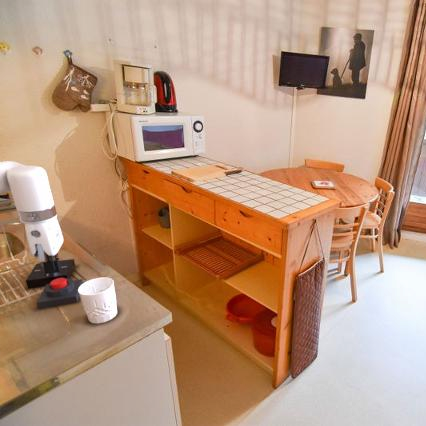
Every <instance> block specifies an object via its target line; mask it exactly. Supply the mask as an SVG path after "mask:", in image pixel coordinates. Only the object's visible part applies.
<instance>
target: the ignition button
mask: <svg viewBox="0 0 426 426" xmlns="http://www.w3.org/2000/svg"><path fill="white" fill-rule="evenodd" d="M50 284H51V287H52V289H54V290H56V289H61V288H63V287H65V286H67V281H66V279H65V278H57V279H55V280H53V281H51V283H50Z"/></svg>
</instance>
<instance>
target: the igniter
mask: <svg viewBox="0 0 426 426" xmlns="http://www.w3.org/2000/svg"><path fill="white" fill-rule="evenodd" d="M65 279H66V278H65ZM66 281H67V286H65V287H63V288H61V289H56V290H54V289H52V287H51V284H50V283H49V284H46V286H44V287H43V289H42V292H41V293H40V295H39V297H38V299H37V301H36V306H37V308H38V309H40V310H41V309H46V308H51V307H57V306H62V305H63V306H65V305H68V304H74V303H75V304H76V303H78V302H79V299H80V295H79V292H78V288H79V287H80V286H81V285H82V284H83V283H84V279H83V278H79V279H74V280H73V279H71V278H70V279H66Z"/></svg>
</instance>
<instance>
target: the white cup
mask: <svg viewBox="0 0 426 426" xmlns="http://www.w3.org/2000/svg"><path fill="white" fill-rule="evenodd" d="M78 292H79V295H80V297H79V299H80V301H81V305H82V307H83V310H84V312H85V314H86V316H87V319H88V321H89V322H90V323H91V324H95V325H96V324H103V323H106V322H108V321H109V322H110V321H111V320H112V319H113V318H115V317H116V316H117V315H118V307H117V304H118V303H117V296H116V295H117V294H116V289H115V281H114V279H112V278H111V277H105V276H103V277H102V276H101V277H96V278H92V279H89V280H87V281H85V282H83V284H82V285H81V286H80V287H79V288H78Z"/></svg>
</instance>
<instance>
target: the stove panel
mask: <svg viewBox="0 0 426 426" xmlns="http://www.w3.org/2000/svg"><path fill="white" fill-rule="evenodd" d="M59 261H60V265H61V270H60V272H57V273H49V274H46V272H43V270H42V267H41V264H40V262H38V263H36V264H35V265H34V267H33V268H32V269H31V271H30V273H29V274H28V276H27V277H26V279H25V284H26V287H27V289H30V290H31V289H36V288H45V286H46V284H49V283H51V281H53V280H55V279H57V278H66V279H71V278H72V277H73V274H74V271H75V269H76V262H75V259H74V258H70V259H61V260H59Z"/></svg>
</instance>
